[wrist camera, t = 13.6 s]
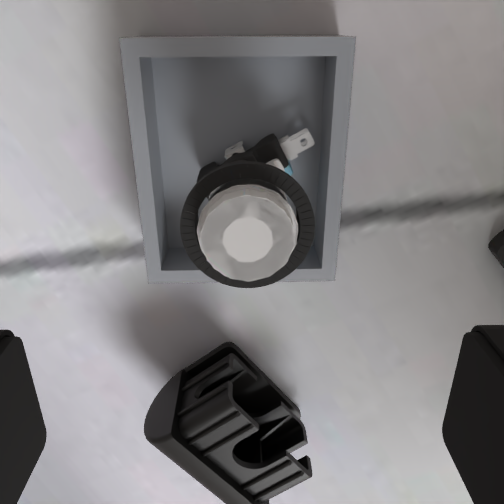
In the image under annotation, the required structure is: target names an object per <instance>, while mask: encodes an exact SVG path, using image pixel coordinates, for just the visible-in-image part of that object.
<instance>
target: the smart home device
mask: <svg viewBox="0 0 504 504" xmlns="http://www.w3.org/2000/svg"><path fill="white" fill-rule="evenodd" d="M488 248H489V249H490V251H491V252H492V253H493V255H494V256H495V257H496V258H497V260H498V261H499V262H500V264H501V265H502V266H503V268H504V230H503V231H501V232H500V233H499V234H497V235H496V236H495V237H494V238H493V239H492V240H491V242H490V243H489V246H488Z"/></svg>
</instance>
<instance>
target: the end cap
mask: <svg viewBox="0 0 504 504" xmlns="http://www.w3.org/2000/svg"><path fill="white" fill-rule="evenodd" d="M300 417H301V415H300V410H299V409H298V408H297V407H296V406H295V404H294V403H293V402H292V401H291V400H290V399H289V398H288V397H287V396H286V395H285V394H284V393H283V392H282V391H281V390H280V389H279V388H278V387H277V386H276V385H275V384H274V383H273V382H272V381H271V380H270V379H269V378H268V377H267V376H266V375H265V374H264V373H263V372H262V371H261V370H260V369H259V368H258V367H257V366H256V365H255V364H254V363H253V362H252V361H251V360H250V359H249V358H248V357H247V356H246V355H245V354H244V353H243V352H242V351H241V350H240V349H239V348H238V347H237V346H236V345H235V344H234V343H232V342H226V343H224V344H222V345H221V346H219V347H217V348H216V349H214V350H213V351H211V352H210V353H208V354H207V355H205V356H204V357H202V358H201V359H199V360H198V361H196V362H194V363H193V364H191V365H190V366H189V367H187V368H186V369H185V370H181V371H180V372H179V373H177V374H176V375H175V376H174V377H173V378H172V379H170V380H169V381H168V383H167V384H166V385H165V386H164V387H163V388H162V389H161V391H160V392H159V393H158V395H157V396H156V398H155V399H154V401H153V402H152V404H151V406H150V408H149V410H148V413H147V415H146V419H145V423H144V434H145V436H146V439H147V440H148V441H149V442H150V443H151V444H152V445H154V446H155V447H156V448H157V449H159V450H160V451H161V452H162V453H164V454H165V455H166V456H167V457H168V458H170V459H171V460H172V461H173V462H175V463H176V464H177V465H178V466H180V467H181V468H182V469H183V470H185V471H186V472H187V473H188V474H190V475H191V476H192V477H193V478H195V479H196V480H197V481H198V482H200V483H201V484H202V485H203V486H204V487H206V488H207V489H208V490H209V491H211V492H212V493H213V494H214V495H216V496H217V497H218V498H219V499H221V500H222V501H223V502H224V503H226V504H269V499H270V498H272V497H274V496H276V495H278V494H280V493H282V492H284V491H286V490H287V489H289V488H291V487H293V486H295V485H297V484H299V483H301V482H303V481H305V480H307V479H308V478H310V477H312V468H311V462H310V458H309V457H308V456H307V455H306V456H304V457H303V458H301V459H299V460H296V459H295V458H294V457H293V456H292V455H291V454H290V453H291V452H293V451H295V450H297V449H298V448H300V447H302V446H304V445H306V444H308V442H307V436H306V430H305V427H304V425H303V423H302V422H301V420H300Z"/></svg>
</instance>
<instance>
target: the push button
mask: <svg viewBox="0 0 504 504" xmlns="http://www.w3.org/2000/svg"><path fill="white" fill-rule="evenodd" d="M303 138H305V141H303V142H300V140H301V139H303ZM314 144H315V142H314V140H313V138H312V136H311V134H310V132H309V131H308V129H307V128H305V129H303V130H301V131H299V132H297V133H295V134H294V135H292V136H290V137H288V135H286V136H284V137H282V138H281V139H279V140H278V139H277V137H276V136H275V135H274V133H272V134H270V135H268V136H266V137H264V138H263V139H261V140H260V141H259V142H258V143H257V144H256V145H255V146H254V147H252V148H250V149H249V150H247V151H245V150H244V148H243V141H240V142H238V143H236V144H234V145H233V146H231V147H229V148H227V149H226V150H225V158H226V161H225V162H224V163H223V164H221V165H220V166H217V164H216V162H211V163H210V164H208V165H206V166H204V167H203V168H201V169H200V171H199V175H198V178H197V183H196V184H195V186H194V187H193V188H192V190H191V191H190V193H189V194H188V196H187V198H186V201H185V203H184V206H183V209H182V213H181V218H180V233H181V239H182V243H183V246H184V248H185V251H186V253H187V254H188V256H189V258H190V259H191V261H192V262H193V263H194V264H195V266H196V267H197V268H198V269H199V270H200V271H202V272H203V273H204V274H205V275H207V276H208V277H210V278H211V279H213V280H215V281H217V282H220V283H222V284H225V285H229V286H233V287H240V288H255V287H262V286H266V285H269V284H272V283H275V282H277V281H279V280H281V279H283V278H285V277H286V276H288V275H289V274H290V273H292V272H293V271H294V270H295V269H296V268H297V267H298V266H299V265H300V264H301V263H302V262H303V260H304V259H305V257H306V256H307V254H308V252H309V250H310V248H311V245H312V242H313V239H314V233H315V218H314V213H313V209H312V206H311V203H310V201H309V198H308V196H307V194H306V193H305V191H304V189H303V188H302V187H301V186H300V184H299V183H298V182H297V181H296V180H295V179H294V178H293V177H291V175H292V174H293V170H292V167H291V164H290V162H289V161H291V160H293V159H295V158H297V157H298V155H297V154H298V153H300V152H302V151H304V150H306V149H308V148H309V147H311V146H313V145H314ZM304 145H305V146H304ZM234 147H235V148H234ZM232 148H233V149H232ZM285 193H286V195H287V196H288V197H289V198H290V199H291V200H292V202H293V203H294V205H295V207H296V217H295V214H294V211H293V209H292V207H291V206H290V205H289V204H288V203H287V199H286V195H285ZM206 197H207V199H208V201H209V202H208V203H207V205H206V206H205V207H204V208H203V210H202V212H201V214H200V218H199V219H198V210H199V208H200V206H201V204H202V202H203V201H204V199H205V198H206Z"/></svg>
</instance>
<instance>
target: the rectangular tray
mask: <svg viewBox="0 0 504 504" xmlns="http://www.w3.org/2000/svg"><path fill="white" fill-rule="evenodd" d="M119 41H120V50H121V58H122V67H123V75H124V83H125V92H126V100H127V109H128V117H129V126H130V134H131V142H132V151H133V159H134V168H135V176H136V184H137V193H138V201H139V210H140V218H141V226H142V235H143V243H144V252H145V260H146V268H147V277H148V283H217V281H215V280H213V279H211V278H210V277H208V276H207V275H205V274H204V273H203V272H202V271H200V270H199V269H198V268H197V267H196V266H195V264H194V263H193V262H192V261H191V259H190V258H189V256H188V254H187V253H186V251H185V248H184V246H183V243H182V239H181V233H180V218H181V213H182V209H183V206H184V203H185V201H186V198H187V196H188V194H189V193H190V191H191V190H192V188H193V187H194V186H195V184H196V183H197V178H198V175H199V171H200V169H201V168H203V167H204V166H206V165H208V164H210V163H211V162H216V164H217V166H220V165H221V164H223V163H224V162H225V161H226V158H225V150H226V149H227V148H229V147H231V146H233V145H234V144H236V143H238V142H240V141H243V148H244V150H245V151H247V150H249V149H250V148H252V147H254V146H255V145H256V144H257V143H258V142H259V141H260V140H261V139H263V138H264V137H266V136H268V135H270V134H272V133H274V135H275V136H276V137H277V139H278V140H279V139H281V138H282V137H284V136H286V135H288V137H290V136H292V135H294V134H295V133H297V132H299V131H301V130H303V129H305V128H307V129H308V131H309V132H310V134H311V136H312V138H313V140H314V142H315V144H314V145H313V146H311V147H309V148H308V149H306V150H304V151H302V152H300V153H298V154H297V155H298V157H297V158H295V159H293V160H291V161H289V162H290V164H291V167H292V170H293V174H292V175H291V177H293V178H294V179H295V180H296V181H297V182H298V183H299V184H300V186H301V187H302V188H303V189H304V191H305V193H306V194H307V196H308V198H309V201H310V203H311V206H312V209H313V213H314V218H315V233H314V239H313V242H312V245H311V248H310V250H309V252H308V254H307V256H306V257H305V259H304V260H303V262H302V263H301V264H300V265H299V266H298V267H297V268H296V269H295V270H294V271H293V272H292V273H290V274H289V275H288V276H286V277H285V278H283V279H281V280H279V281H277V282H295V281H335V275H336V263H337V251H338V240H339V228H340V216H341V205H342V193H343V181H344V170H345V158H346V146H347V135H348V123H349V111H350V100H351V88H352V76H353V65H354V53H355V41H356V37H353V36H340V35H325V36H137V37H125V38H119ZM303 141H305V138H303V139H301V140H300V142H303ZM304 146H305V145H304ZM234 148H235V147H234ZM232 149H233V148H232ZM285 195H286V193H285ZM286 199H287V203H288V204H289V205H290V206H291V207H292V209H293V211H294V214H295V217H296V207H295V205H294V203H293V202H292V200H291V199H290V198H289V197H288V196H287V195H286ZM208 202H209V201H208V199H207V197H206V198H205V199H204V201H203V202H202V204H201V206H200V208H199V210H198V219H199V218H200V214H201V212H202V210H203V208H204V207H205V206H206V205H207V203H208Z"/></svg>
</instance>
